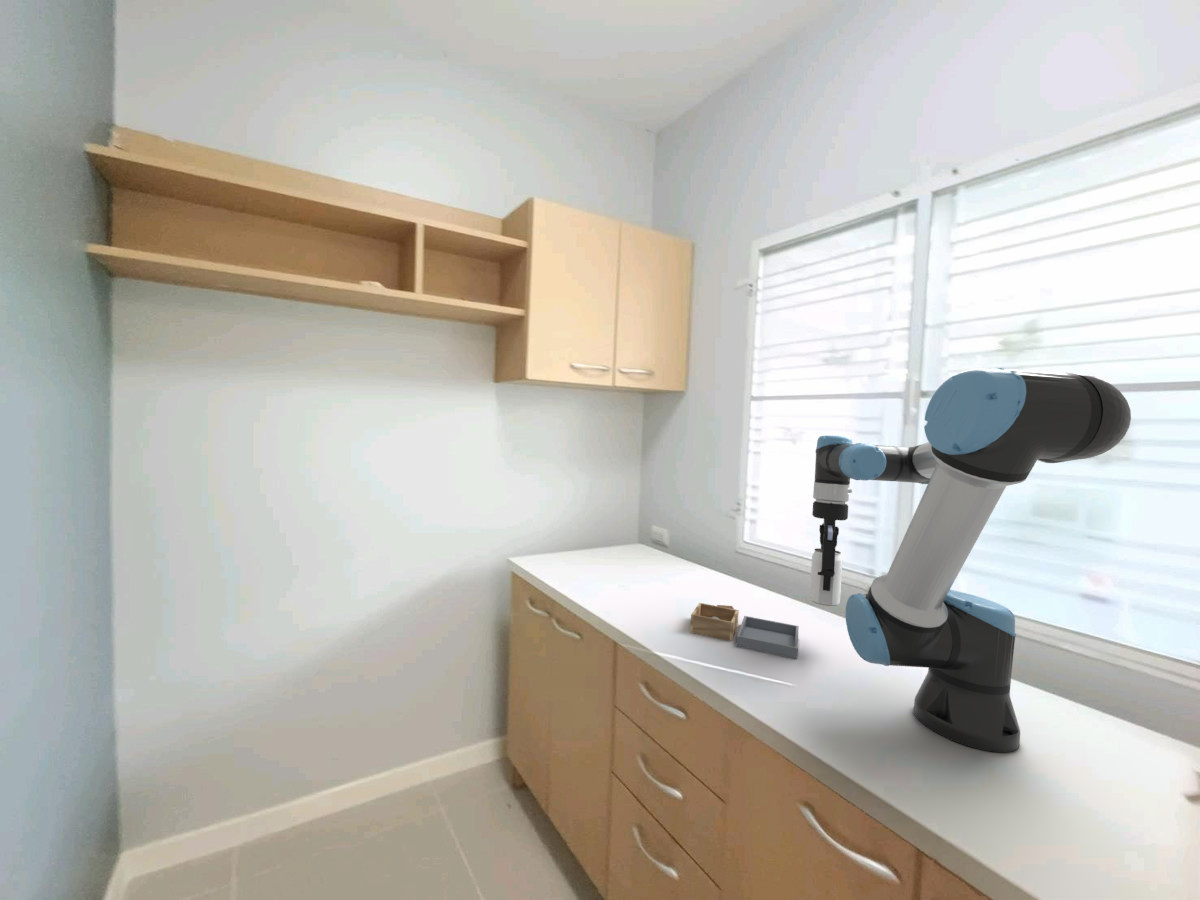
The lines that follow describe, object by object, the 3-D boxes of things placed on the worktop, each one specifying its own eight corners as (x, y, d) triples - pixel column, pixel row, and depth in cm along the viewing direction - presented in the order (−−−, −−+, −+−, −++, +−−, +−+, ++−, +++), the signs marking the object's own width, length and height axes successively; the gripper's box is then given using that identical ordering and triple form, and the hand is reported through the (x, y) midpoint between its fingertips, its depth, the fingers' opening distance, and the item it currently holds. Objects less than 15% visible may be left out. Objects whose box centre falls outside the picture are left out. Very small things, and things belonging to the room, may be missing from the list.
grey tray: (796, 661, 110) (797, 648, 110) (736, 648, 115) (737, 636, 115) (797, 637, 124) (798, 626, 124) (743, 627, 129) (744, 615, 129)
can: (844, 607, 111) (848, 554, 111) (816, 605, 112) (819, 552, 112) (831, 598, 118) (835, 549, 118) (804, 597, 118) (808, 547, 118)
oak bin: (731, 643, 117) (733, 622, 117) (689, 634, 121) (691, 614, 121) (737, 629, 127) (738, 610, 127) (698, 621, 131) (699, 602, 131)
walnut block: (734, 626, 129) (735, 611, 129) (719, 624, 130) (720, 609, 129) (731, 620, 133) (732, 605, 133) (716, 619, 134) (717, 604, 133)
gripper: (852, 506, 104) (845, 614, 104) (845, 500, 122) (839, 592, 122) (813, 503, 107) (807, 608, 107) (812, 497, 125) (806, 587, 125)
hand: (824, 599), depth 115 cm, fingers closed on can, 6 cm apart
